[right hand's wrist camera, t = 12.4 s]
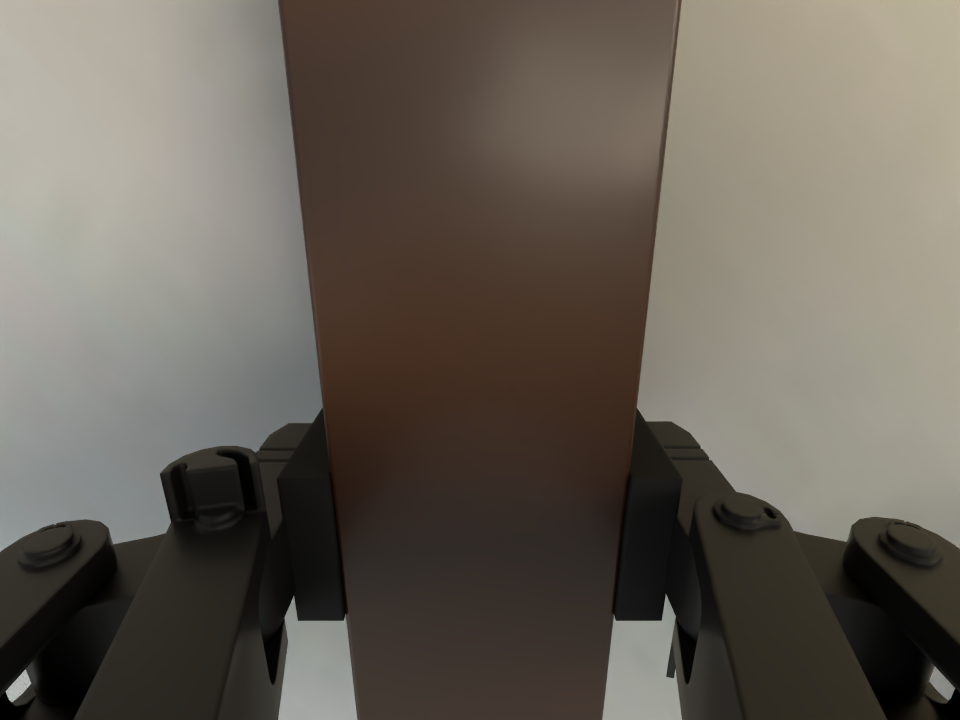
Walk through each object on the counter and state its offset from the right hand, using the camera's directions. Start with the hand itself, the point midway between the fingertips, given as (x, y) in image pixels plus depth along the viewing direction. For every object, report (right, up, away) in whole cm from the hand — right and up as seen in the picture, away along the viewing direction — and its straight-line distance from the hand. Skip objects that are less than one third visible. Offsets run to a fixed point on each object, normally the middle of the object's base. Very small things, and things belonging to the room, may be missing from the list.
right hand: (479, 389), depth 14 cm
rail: (0, +12, -3) cm, 12 cm away
